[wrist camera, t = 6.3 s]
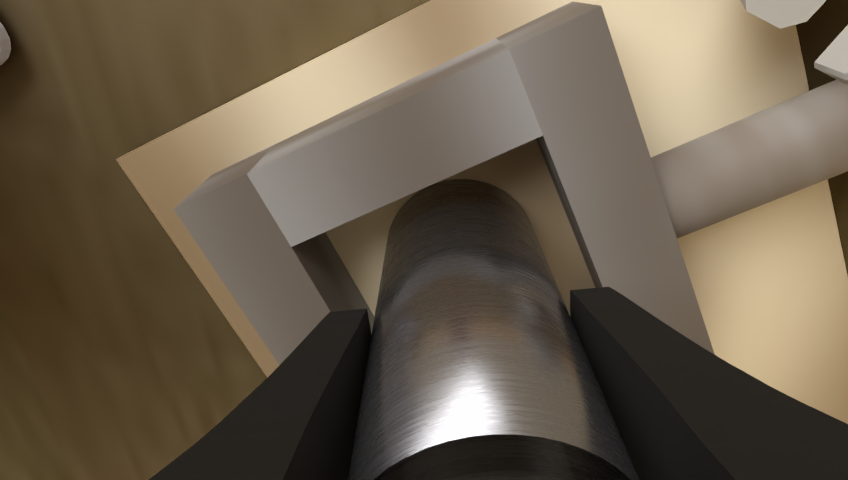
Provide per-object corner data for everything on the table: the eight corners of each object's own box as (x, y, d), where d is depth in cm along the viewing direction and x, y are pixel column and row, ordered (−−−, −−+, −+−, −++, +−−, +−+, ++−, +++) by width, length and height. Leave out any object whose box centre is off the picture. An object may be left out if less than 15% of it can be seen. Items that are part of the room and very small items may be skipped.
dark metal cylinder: (524, 317, 13) (675, 846, 5) (384, 309, 13) (312, 831, 5) (544, 183, 12) (786, 605, 4) (389, 174, 12) (305, 580, 4)
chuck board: (478, 666, 19) (485, 758, 17) (126, 152, 13) (59, 191, 10) (1061, 503, 16) (1164, 588, 14) (1017, -296, 9) (1207, -385, 7)
